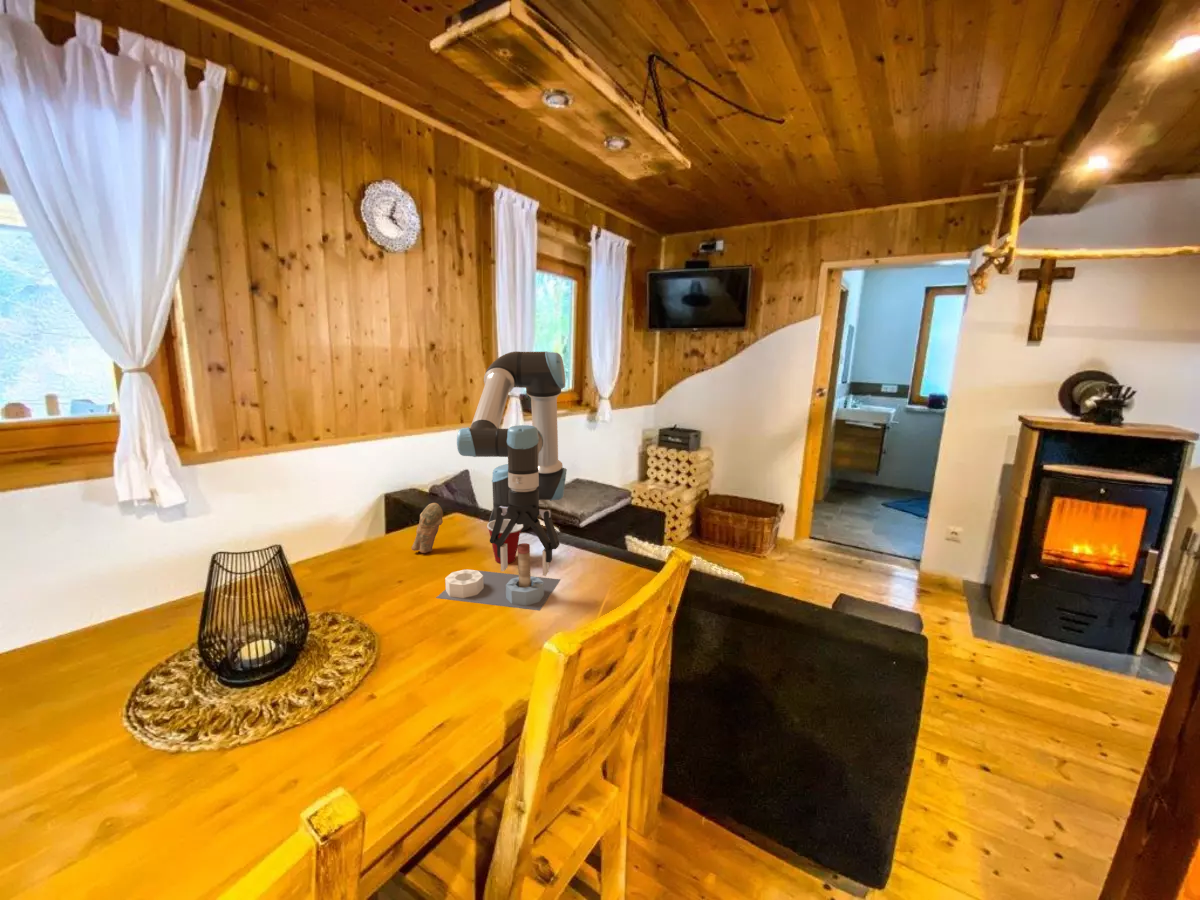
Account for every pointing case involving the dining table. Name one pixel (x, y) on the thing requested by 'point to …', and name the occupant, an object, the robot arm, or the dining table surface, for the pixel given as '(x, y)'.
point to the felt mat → (502, 591)
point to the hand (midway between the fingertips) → (524, 571)
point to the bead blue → (525, 592)
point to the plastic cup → (507, 539)
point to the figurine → (428, 528)
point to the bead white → (464, 583)
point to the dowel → (524, 565)
